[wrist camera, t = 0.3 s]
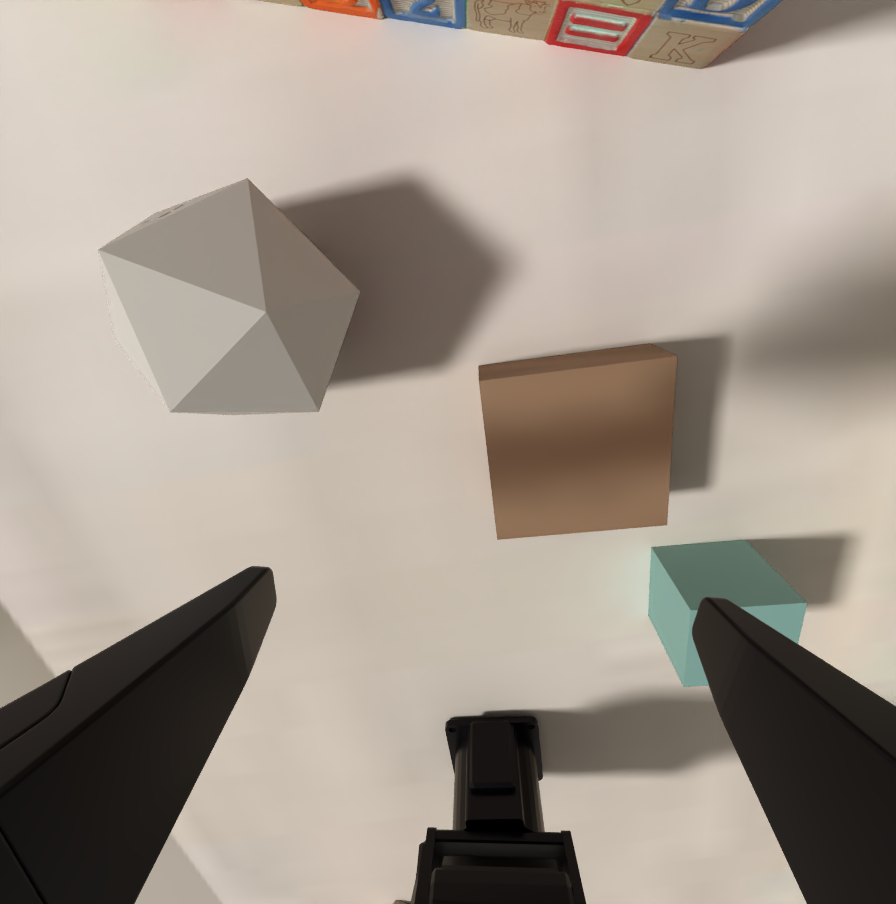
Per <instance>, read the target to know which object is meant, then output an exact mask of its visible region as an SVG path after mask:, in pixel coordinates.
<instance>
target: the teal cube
mask: <svg viewBox="0 0 896 904" xmlns="http://www.w3.org/2000/svg"><path fill="white" fill-rule="evenodd" d="M705 597H718V598H725V599H728V600H729V601H731V602H733V603H734V604H736V605H737V606H739V607H740V608H742V609H744V610H745V611H747V612H748V613H750V614H751V615H753V616H754V617H756V618H758V619H759V620H761V621H762V622H764V623H765V624H767V625H769V626H770V627H772V628H773V629H775V630H776V631H778V632H780V633H781V634H783V635H784V636H786V637H787V638H789V639H791V640H792V641H794V642H795V643H797V644H798V641H799V637H800V632H801V628H802V623H803V619H804V614H805V610H806V606H807V602H806V601H805V600H804V599H803V598H802V597H801V596H800V595H799V594H798V593H797V592H796V591H795V590H794V589H793V588H792V587H791V586H790V585H789V584H788V583H787V582H786V581H785V580H784V579H783V578H782V577H781V576H780V575H779V574H778V573H777V572H776V571H775V570H774V569H773V568H772V566H771V565H770V564H769V563H768V562H767V561H766V560H765V559H764V558H763V557H762V556H761V555H760V554H759V553H758V552H757V551H756V550H755V549H754V548H753V547H752V546H751V545H750V544H749V543H748V542H747V541H746V540H735V541H722V542H710V543H697V544H685V545H673V546H660V547H651V566H650V587H649V609H648V616H649V618H650V620H651V622H652V624H653V626H654V628H655V630H656V632H657V634H658V636H659V638H660V640H661V642H662V644H663V646H664V648H665V650H666V652H667V654H668V656H669V658H670V660H671V662H672V664H673V666H674V668H675V670H676V672H677V675H678V677H679V679H680V681H681V683H682V685H683V687H691V686H709V684H708V681H707V678H706V675H705V673H704V670H703V667H702V664H701V661H700V658H699V655H698V653H697V650H696V647H695V644H694V641H693V637H692V626H693V623H694V620H695V617H696V614H697V611H698V608H699V605H700V602H701V600H702V599H703V598H705Z"/></svg>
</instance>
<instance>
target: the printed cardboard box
mask: <svg viewBox="0 0 896 904" xmlns="http://www.w3.org/2000/svg"><path fill="white" fill-rule="evenodd" d="M260 1H267V2H274V3H280V4H287V5H294V6H301V5H304V6H306V7H308V8H313V9H318V10H323V11H330V12H336V13H343V14H349V15H355V16H361V17H369V18H374V19H382V18H384V17H385V16H386V17H389V18H392V19H398V20H405V21H413V22H419V23H424V24H431V25H438V26H444V27H450V28H456V29H463V28H468V29H471V30H475V31H481V32H488V33H494V34H501V35H508V36H515V37H521V38H527V39H535V40H543V41H545V42H546V43H547V44H549V45H556V46H562V47H567V48H574V49H581V50H588V51H593V52H600V53H606V54H613V55H619V56H628V57H630V58H633V59H639V60H645V61H651V62H658V63H664V64H670V65H677V66H683V67H689V68H696V69H701V68H704V67H706V66H707V65H708V64H710V63H711V62H712V61H713V60H714V59H715V58H716V57H718V56H719V55H720V54H721V53H722V52H723V51H724V50H726V49H727V48H728V47H730V46H731V45H732V44H733V43H734V42H736V41H737V40H738V39H739V38H740V37H742V36H743V35H744V34H745V33H746V32H747V31H748V30H749V27H750V26H752V25H753V24H755V23H756V22H757V21H759V20H760V19H761V18H762V17H764V16H765V15H766V14H767V13H768V12H769V11H771V10H772V9H773V8H774V7H775V6H776V5H777V4H779V3H780V2H781V1H782V0H260Z"/></svg>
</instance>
